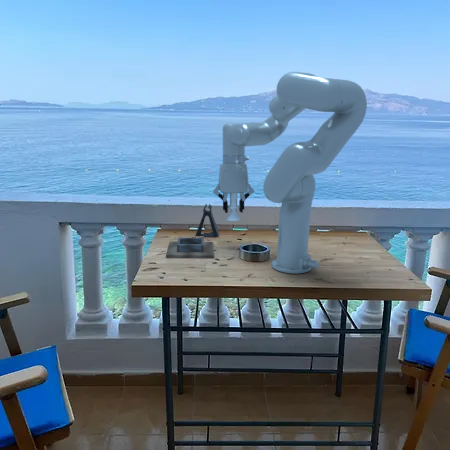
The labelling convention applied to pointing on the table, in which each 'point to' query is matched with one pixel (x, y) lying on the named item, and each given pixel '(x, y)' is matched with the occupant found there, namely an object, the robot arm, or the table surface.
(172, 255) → the keeper board
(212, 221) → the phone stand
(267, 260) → the table surface
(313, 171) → the robot arm
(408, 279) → the table surface
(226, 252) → the table surface
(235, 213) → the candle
